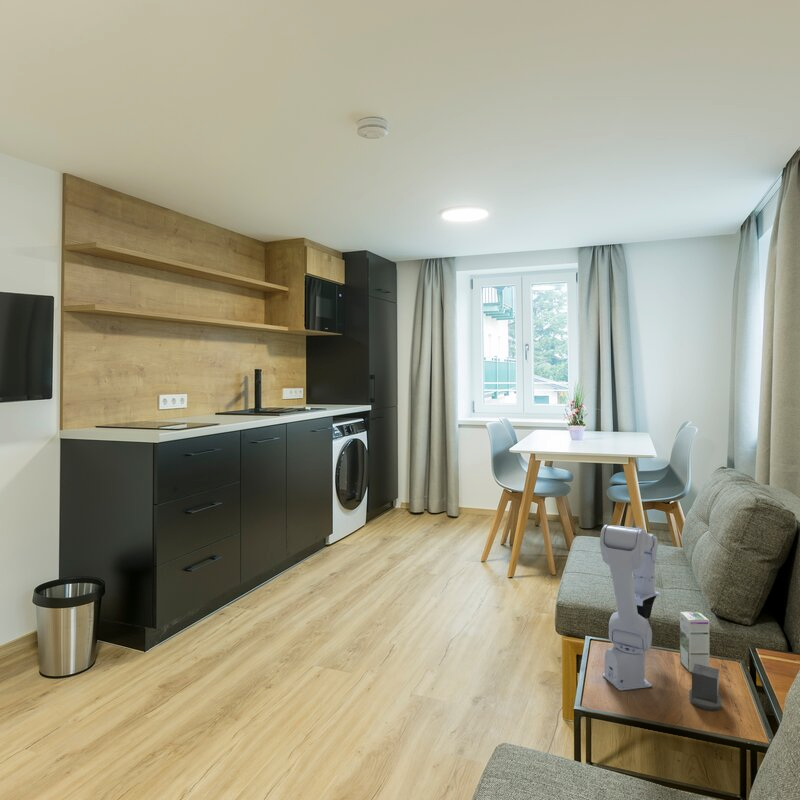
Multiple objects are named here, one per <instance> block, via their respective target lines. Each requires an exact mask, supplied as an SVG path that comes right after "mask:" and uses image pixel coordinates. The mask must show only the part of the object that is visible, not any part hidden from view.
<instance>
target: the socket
mask: <svg viewBox="0 0 800 800" xmlns="http://www.w3.org/2000/svg"><path fill="white" fill-rule="evenodd" d="M691 689H692V697H695V698H698V699H702V700H706V701H709V702H713V703H717V700H718V695H720V669H719V668H715V667H711V666H709V667H707V666H703V665H699V664H694V668H693V671H692V672H691Z"/></svg>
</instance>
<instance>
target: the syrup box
mask: <svg viewBox="0 0 800 800" xmlns="http://www.w3.org/2000/svg"><path fill="white" fill-rule="evenodd" d="M679 663H680V664H681V665H682V666H683V667H684V668H685V669H686V670H687V671H688V672H689V673H692V671H693V668H694V664H699V665H703V666H707V667H710V619H708V618H707V617H706V616H705V615H704V614H702V613H701V612H700V611H680V613H679Z"/></svg>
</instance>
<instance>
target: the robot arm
mask: <svg viewBox="0 0 800 800" xmlns="http://www.w3.org/2000/svg"><path fill="white" fill-rule="evenodd" d="M658 547H659V540H658V536H656V535H655V534H654V533H648V532H647V531H646V530H645V529H644V528H643V526H642V527H641V526H636V527H630V526H622V525H613V524H611V525H609V524H604V526H603V527H602V528H601V531H600V536H599V548H600V554H601V557H602V561H603V562H604V563H605V564H606V565H607V566H608V567H609V571H610V575H611V580H612V586H613V592H614V599H615V604H616V610H617V611H615V612H613V613H612V614H611V616H610V618H609V622H608V639H609V641H610V643H613V647H611V648H608V649H606V651H605V653H604V673H603V674H602V676H603V677H604V678H605V679H606V680H608V682H609V683H611V685H613V686H614V688H616V689H617V690H618V691H627V690H628V691H629V690H637V689H643V688H644V689H645V688H651V687H653V684H652V683H650V682H649V681H648V680H647V679H645V675H646V674H645V672H646V668H645V667H646V665H645V664H646V663H645V662H646V652H649V650H650V649H651V647H652V641H653V631H652V630H653V629H652V628H651V626H650V623H649V620H648V619H650V618H651V615H652V610H653V605H654V602H655V601H656V598H657V597H659V596H660V592H659V591H656V590H655V585H656V583H655V581H656V580H655V579H656V560H657V553H658Z"/></svg>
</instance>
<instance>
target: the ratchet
mask: <svg viewBox="0 0 800 800" xmlns="http://www.w3.org/2000/svg"><path fill="white" fill-rule="evenodd" d="M688 692H689V693H688V695H689V696H688V699H689V702H690V704H692V705H693V706H694V707H695V708H698V709H699V710H700V709H701V710H703V711H709V712H719V711H720V710H721V709H722V708H723V706H722V703H723V702H722V701H723V699H722V696H721V695H720V694H719V695H718V700H717V703H713V702H709V701H706V700H702V699H698V698H695V697H692V688H690V689H689V691H688Z"/></svg>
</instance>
